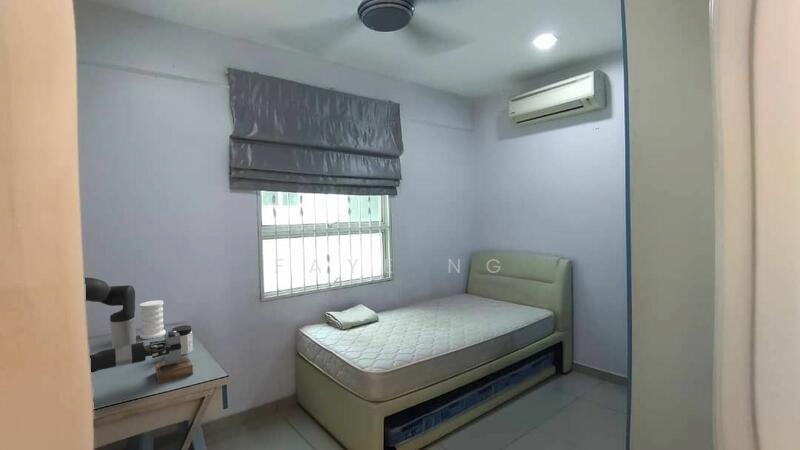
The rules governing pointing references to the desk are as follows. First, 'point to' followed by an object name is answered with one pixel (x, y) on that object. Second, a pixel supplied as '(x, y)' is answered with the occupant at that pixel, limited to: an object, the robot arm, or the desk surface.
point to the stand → (174, 370)
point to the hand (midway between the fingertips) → (179, 344)
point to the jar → (185, 338)
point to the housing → (174, 355)
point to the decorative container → (152, 319)
